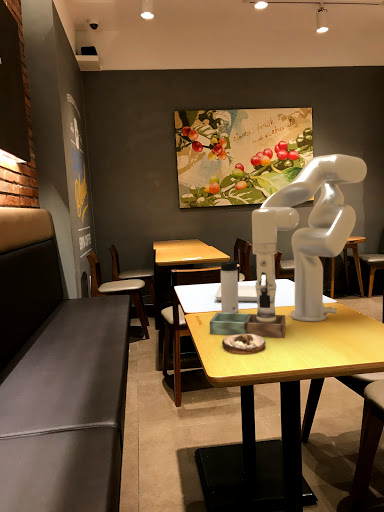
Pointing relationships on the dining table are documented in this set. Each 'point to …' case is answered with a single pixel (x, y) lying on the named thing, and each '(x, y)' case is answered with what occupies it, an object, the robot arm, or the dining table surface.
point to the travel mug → (229, 287)
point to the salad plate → (242, 294)
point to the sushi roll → (243, 343)
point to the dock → (246, 325)
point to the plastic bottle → (266, 313)
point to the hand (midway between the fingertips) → (265, 304)
